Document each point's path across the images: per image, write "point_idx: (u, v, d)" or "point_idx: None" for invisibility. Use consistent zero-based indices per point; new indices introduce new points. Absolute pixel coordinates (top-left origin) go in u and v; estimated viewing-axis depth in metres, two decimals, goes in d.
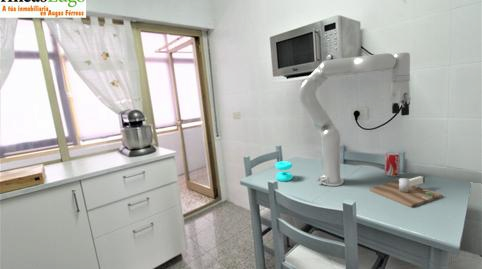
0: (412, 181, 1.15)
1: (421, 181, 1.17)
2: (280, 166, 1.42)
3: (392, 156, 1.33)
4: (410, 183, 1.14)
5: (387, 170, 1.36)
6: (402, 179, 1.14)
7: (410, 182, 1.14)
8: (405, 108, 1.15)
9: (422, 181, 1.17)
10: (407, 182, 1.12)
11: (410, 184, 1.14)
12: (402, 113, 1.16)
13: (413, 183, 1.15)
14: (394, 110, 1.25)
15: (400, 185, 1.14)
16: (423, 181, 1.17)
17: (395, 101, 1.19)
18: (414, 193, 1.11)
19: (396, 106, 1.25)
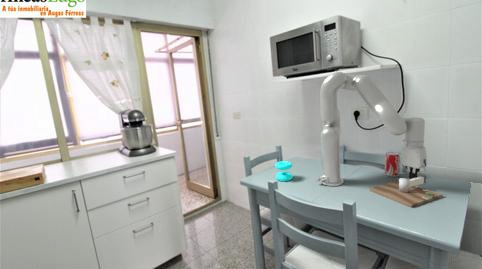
0: (412, 181, 1.14)
1: (422, 181, 1.16)
2: (280, 166, 1.42)
3: (392, 156, 1.33)
4: (410, 183, 1.14)
5: (387, 170, 1.36)
6: (402, 179, 1.14)
7: (410, 182, 1.14)
8: (415, 174, 1.17)
9: (423, 181, 1.17)
10: (407, 182, 1.12)
11: (410, 184, 1.14)
12: (412, 178, 1.18)
13: (414, 183, 1.15)
14: None
15: (400, 185, 1.14)
16: (424, 181, 1.17)
17: (412, 166, 1.15)
18: (414, 193, 1.11)
19: None
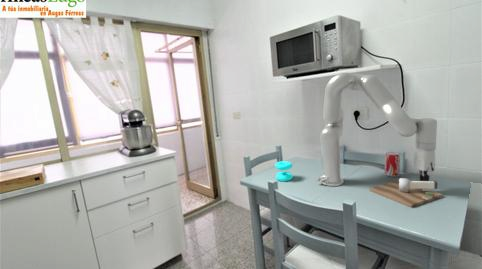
0: (415, 183, 1.12)
1: (431, 186, 1.10)
2: (280, 166, 1.42)
3: (392, 156, 1.33)
4: (412, 185, 1.12)
5: (387, 170, 1.36)
6: (402, 179, 1.14)
7: (412, 184, 1.12)
8: (425, 178, 1.12)
9: (433, 187, 1.10)
10: (404, 182, 1.12)
11: (412, 186, 1.12)
12: None
13: (418, 185, 1.12)
14: None
15: (399, 184, 1.15)
16: (435, 187, 1.10)
17: (419, 168, 1.12)
18: (414, 193, 1.11)
19: None
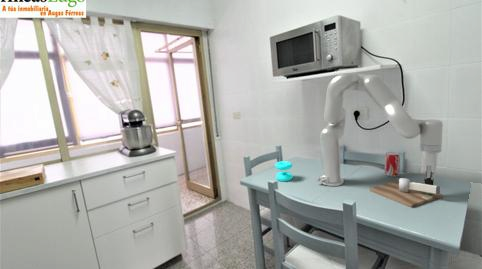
0: (415, 185, 1.10)
1: (433, 191, 1.06)
2: (280, 166, 1.42)
3: (392, 156, 1.33)
4: (412, 186, 1.11)
5: (387, 170, 1.36)
6: (403, 179, 1.14)
7: (412, 185, 1.11)
8: (427, 181, 1.09)
9: (435, 191, 1.06)
10: (402, 182, 1.13)
11: (412, 187, 1.11)
12: None
13: (418, 187, 1.10)
14: None
15: None
16: (437, 192, 1.05)
17: None
18: (414, 193, 1.11)
19: None
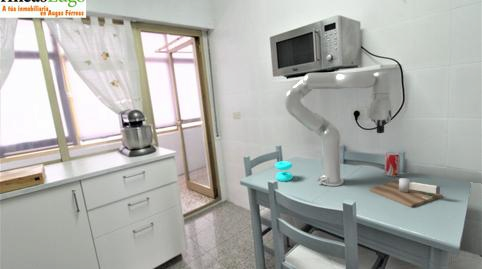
0: (415, 185, 1.10)
1: (433, 191, 1.06)
2: (280, 166, 1.42)
3: (392, 156, 1.33)
4: (412, 186, 1.11)
5: (387, 170, 1.36)
6: (403, 179, 1.14)
7: (412, 185, 1.11)
8: (382, 127, 1.23)
9: (435, 191, 1.06)
10: (402, 182, 1.13)
11: (412, 187, 1.11)
12: (379, 131, 1.24)
13: (418, 187, 1.10)
14: None
15: None
16: (437, 192, 1.05)
17: (378, 118, 1.21)
18: (414, 193, 1.11)
19: None
